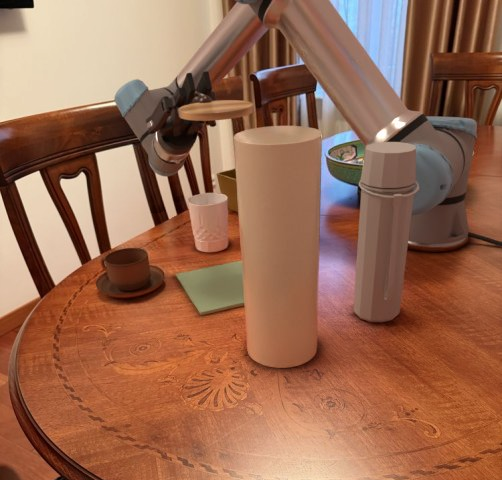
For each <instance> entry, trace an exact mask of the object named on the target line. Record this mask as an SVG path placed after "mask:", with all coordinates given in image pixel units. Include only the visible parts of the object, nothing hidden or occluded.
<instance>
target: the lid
mask: <svg viewBox="0 0 502 480" xmlns="http://www.w3.org/2000/svg"><path fill="white" fill-rule="evenodd" d="M190 103H192V104H188V105H185V106H182V107H180V108H179V109H178V112H179V117H180V118H182V119H185V120H194V121H213V120H215V121H223V120H232V119H239V118H243V117H246V116H248V115H251V114H253V113H254V103H253V102H252V101H247V100H240V99H239V100H238V99H237V100H236V99H221V100H219V99H218V100H217V101H212V100H211V98H210V97H209V96H208V95H205V94H203V93H200V92H197V91H195V93H194V95H193V98H192V100H191V102H190Z"/></svg>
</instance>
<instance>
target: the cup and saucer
mask: <svg viewBox="0 0 502 480" xmlns="http://www.w3.org/2000/svg"><path fill="white" fill-rule="evenodd" d="M100 265H101V268H102V269H103V270H104V271H105V272H104V273H102V274H100V276H98V278H97V279H96V281H95V287H96V289H97V290H98V292H100V293H101V294H103V295H105V296H107V297H110V298H117V299H129V298H136V297H140V296H144V295H147V294H149V293H151V292H153V291H155V290H156V289H158V288H159V287H160V286H161V285H162V283H163V282H164V280H165V271H164V270H163V269H162V268H160V267H158V266H156V265H152V264H150V260H149V254H148V251H147V250H145V249H144V248H139V247H126V248H125V247H124V248H120V249H117V250H114V251H110V253H108V254H106V255H105V256H102V257H101V259H100Z"/></svg>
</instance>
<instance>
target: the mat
mask: <svg viewBox="0 0 502 480" xmlns="http://www.w3.org/2000/svg"><path fill="white" fill-rule="evenodd" d="M174 276H175V278H176V279H177V281H178V282H179V284H180V285H181V287H182V288H183V290H184V291H185V293H186V295H187V296H188V298H189V299H190V301H191V302H192V304H193V306H194V307H195V309H196V310H197V311H198V313H199V314H200V316H205V315H210V314H215V313H218V312H222V311H226V310H231V309H234V308H240V307H244V293H243V278H242V262H241V260H237V261H232V262H231V261H230V262H227V263H221V264H217V265H212V266H208V267H207V266H206V267H203V268H198V269H193V270H189V271H183V272H179V273H178V272H177V273H175V275H174Z"/></svg>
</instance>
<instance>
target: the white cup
mask: <svg viewBox="0 0 502 480" xmlns="http://www.w3.org/2000/svg"><path fill="white" fill-rule="evenodd" d="M187 206H188V213H189V218H190V225H191V229H192V234H193V238H194V245H195V249H196V250H197V251H199V252H202V253H218V252H221V251H223V250H225V249H227V248H228V246H229V207H228V197H227V196H226V195H224V194H221V192H205V193H204V192H203V193H199V194H195V195H192V196H190V197H188V199H187Z"/></svg>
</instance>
